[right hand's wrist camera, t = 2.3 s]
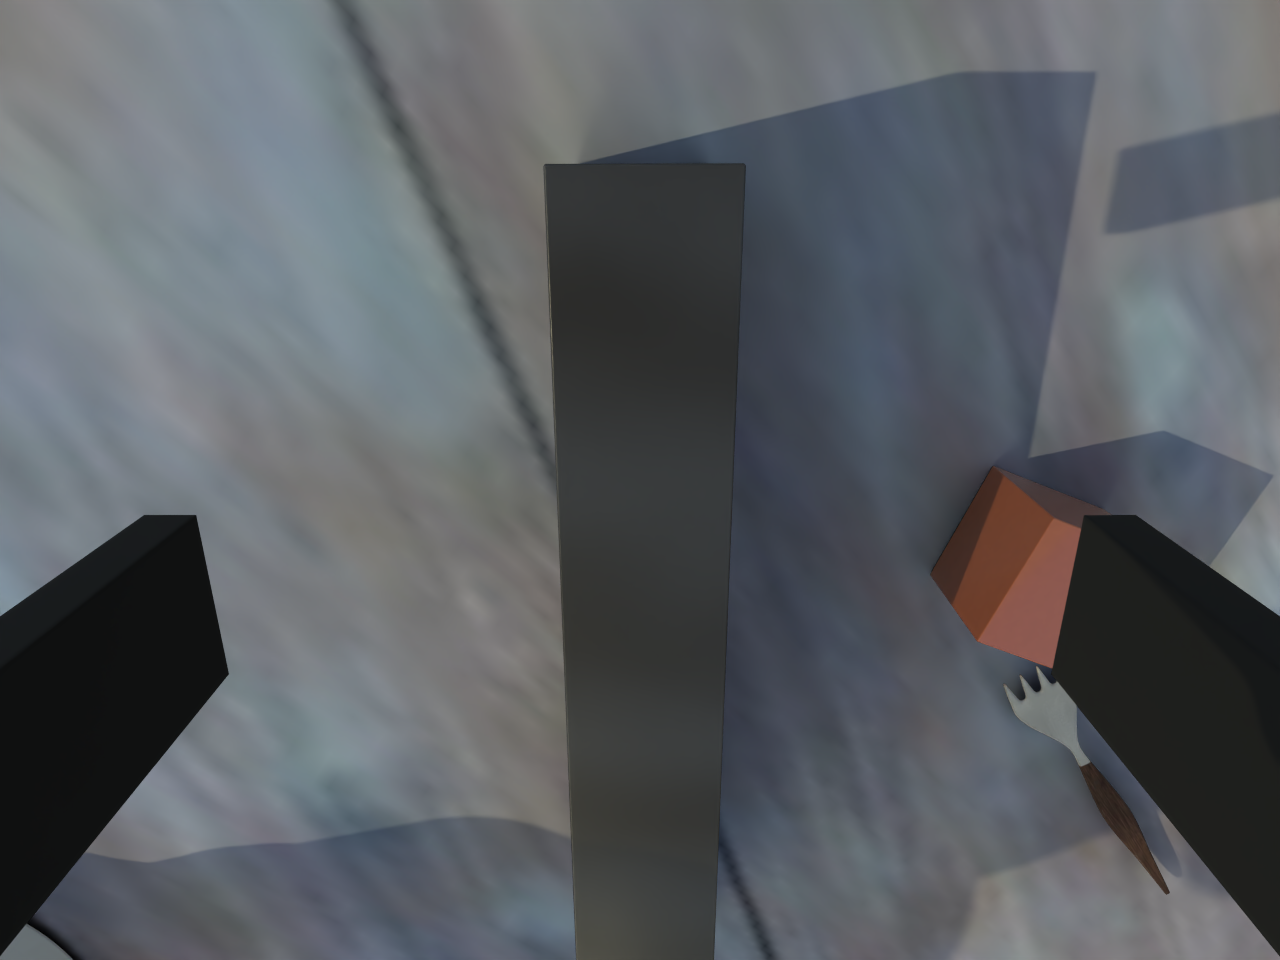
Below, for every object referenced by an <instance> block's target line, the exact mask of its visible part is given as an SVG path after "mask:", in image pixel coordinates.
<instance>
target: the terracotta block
mask: <svg viewBox="0 0 1280 960" xmlns="http://www.w3.org/2000/svg"><path fill="white" fill-rule="evenodd" d="M1084 515H1111V514H1110V513H1109V512H1107V511H1106V510H1104V509H1102V508H1099V507H1097V506H1094V505H1092V504H1089V503H1086V502H1084V501H1081V500H1079V499H1076V498H1074V497H1071V496H1069V495H1066V494H1064V493H1061V492H1058V491H1056V490H1053V489H1051V488H1048V487H1046V486H1043V485H1041V484H1038V483H1036V482H1033V481H1030V480H1028V479H1025V478H1023V477H1020V476H1018V475H1015V474H1013V473H1010V472H1008V471H1005V470H1002V469H1000V468H997V467H995V466H993V467H992V468H991V470H990V472H989V474H988V475H987V477H986V479H985V480H984V482H983V484H982V486H981V487H980V489H979V491H978V493H977V494H976V496H975V498H974V499H973V501H972V503H971V505H970V506H969V508H968V510H967V512H966V513H965V515H964V517H963V518H962V520H961V522H960V524H959V525H958V527H957V529H956V531H955V532H954V534H953V536H952V537H951V539H950V541H949V543H948V544H947V546H946V548H945V550H944V551H943V553H942V555H941V556H940V558H939V560H938V562H937V563H936V565H935V567H934V569H933V570H932V572H931V574H930V575H931V577H932V578H933V580H934V581H935V582H936V584H937V585H938V587H939V588H940V590H941V591H942V592H943V594H944V595H945V597H946V598H947V599H948V601H949V602H950V604H951V605H952V607H953V608H954V609H955V611H956V612H957V614H958V615H959V616H960V618H961V619H962V621H963V622H964V623H965V625H966V626H967V628H968V629H969V631H970V632H971V633H972V635H973V636H974V638H975V639H976V640H977V642H980V643H983V644H986V645H988V646H991V647H994V648H997V649H1000V650H1002V651H1005V652H1008V653H1011V654H1013V655H1016V656H1019V657H1022V658H1024V659H1027V660H1030V661H1033V662H1036V663H1038V664H1041V665H1044V666H1047V667H1049V668H1053V663H1054V658H1055V653H1056V648H1057V643H1058V638H1059V634H1060V629H1061V624H1062V619H1063V614H1064V609H1065V604H1066V600H1067V595H1068V590H1069V585H1070V580H1071V575H1072V571H1073V566H1074V561H1075V556H1076V551H1077V546H1078V541H1079V537H1080V532H1081V527H1082V522H1083V517H1084Z"/></svg>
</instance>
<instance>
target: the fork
mask: <svg viewBox="0 0 1280 960" xmlns="http://www.w3.org/2000/svg"><path fill="white" fill-rule="evenodd" d="M1036 669H1037V674H1038V677H1039V681H1040V684H1041V690H1040V691H1038V692H1035V691H1034V690H1033V689H1032V688H1031V687H1030V685H1029V684H1028V683H1027V681H1026V680H1025V679H1024V678H1023V677H1022V676H1021V675H1020V679H1021V683H1022V686H1023V689H1024V692H1025V695H1026V697H1025V699H1023V700H1019V699H1018V698H1017V697H1016V696H1015V695H1014V693H1013V692H1012V691H1011V690H1010V689H1009V688H1008V687H1007V685H1006V684H1003V686H1004V688H1005V691H1006V694H1007V697H1008V699H1009V701H1010V704H1011V706H1012V708H1013V711H1014V713H1015V715H1016V716H1017V717H1018V718H1019V719H1020V720H1021V721H1022V722H1023V723H1025V724H1026V725H1028V726H1029V727H1031V728H1033V729H1035V730H1037V731H1039V732H1041V733H1043V734H1045V735H1047V736H1049V737H1051V738H1053V739H1055V740H1057V741H1058V742H1060V743H1062V744H1063V745H1065V746H1066V747H1067V748H1069V749H1070V750H1071V752H1072V753H1073V755H1074V756H1075V758H1076V760H1077V762H1078V765H1079V767H1080V769H1081V771H1082V774H1083V776H1084V778H1085V780H1086V783H1087V785H1088V787H1089V789H1090V792H1091V794H1092V796H1093V798H1094V800H1095V802H1096V805H1097V807H1098V808H1099V810H1100V812H1101V814H1102V816H1103V817H1104V819H1105V820H1106V822H1107V823H1108V825H1109V826H1110V827H1111V829H1112V830H1113V831H1114V832H1115V834H1116V835H1117V836H1118V837H1119V838H1120V839H1121V841H1122V842H1123V843H1124V844H1125V845H1126V846H1127V847H1128V849H1129V850H1130V851H1131V852H1132V853H1133V854H1134V856H1135V857H1136V858H1137V859H1138V860H1139V862H1140V863H1141V864H1142V865H1143V866H1144V868H1145V869H1146V870H1147V871H1148V873H1149V874H1150V875H1151V876H1152V878H1153V879H1154V880H1155V881H1156V883H1157V884H1158V885H1159V886H1160V888H1161V889H1162V890H1163V891H1164V893H1165V894H1166V895H1167V894H1169V893H1170V892H1169V890H1168V887H1167V885H1166V883H1165V881H1164V879H1163V877H1162V875H1161V873H1160V871H1159V869H1158V867H1157V865H1156V863H1155V861H1154V859H1153V857H1152V854H1151V852H1150V850H1149V848H1148V846H1147V843H1146V841H1145V839H1144V837H1143V834H1142V832H1141V830H1140V828H1139V825H1138V823H1137V821H1136V819H1135V817H1134V816H1133V814H1132V812H1131V811H1130V809H1129V808H1128V806H1127V805H1126V803H1125V802H1124V801H1123V799H1122V798H1121V797H1120V796H1119V794H1118V793H1117V792H1116V791H1115V789H1114V788H1113V787H1112V786H1111V785H1110V783H1109V782H1108V781H1107V780H1106V779H1105V778H1104V776H1103V775H1102V774H1101V773H1100V772H1099V771H1098V769H1097V768H1096V767H1095V766H1094V765H1093V764H1092V762H1091V761H1090V760H1089V759H1088V758H1087V756H1086V755H1085V754H1084V752H1083V751H1082V749H1081V748H1080V745H1079V743H1078V738H1077V705H1076V704H1075V703H1074V702H1073V700H1072V699H1071V698H1070V697H1069V695H1068V694H1067V693H1066V692H1065V691H1064V689H1063V688H1062V687H1061V686H1060V684H1059V683H1058V682H1057V681H1056V682H1055V683H1053V684H1052V683H1050V682H1049V681H1048V680H1047V678H1046V677H1045V675H1044V674H1043V673H1042V671H1041V670H1040V669H1039V667H1038V666H1036Z"/></svg>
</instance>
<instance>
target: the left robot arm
mask: <svg viewBox="0 0 1280 960" xmlns="http://www.w3.org/2000/svg"><path fill="white" fill-rule="evenodd" d="M0 960H73V959H72V958H71V957H70V956H69V955H68V954H67V953H66V952H65V951H64V950H63V949H61V948H60V947H59V946H58V945H57V944H56V943H54V942H53V941H52V940H50V939H49V938H48V937H46V936H45V935H44V934H42V933H41V932H39V931H38V930H36V929H34V928H33V927H31V926H30V925H28V924H26V925H25V926H24V928H23V929H22V930H21V931H20V932H19V934H18V935H17V936H16V937H15V939H14V940H13V941H12V942H11V944H10V945H9V946H8V947H7V949H6V950H5V951H4V952H3V953H2V955H1V956H0Z"/></svg>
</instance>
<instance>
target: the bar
mask: <svg viewBox="0 0 1280 960" xmlns="http://www.w3.org/2000/svg"><path fill="white" fill-rule="evenodd" d="M745 171H746V165H745V164H743V163H733V164H545V165H544V191H545V215H546V239H547V264H548V288H549V312H550V337H551V361H552V385H553V409H554V434H555V458H556V482H557V506H558V531H559V555H560V579H561V604H562V628H563V652H564V676H565V701H566V725H567V749H568V773H569V798H570V822H571V846H572V870H573V895H574V919H575V943H576V960H714V943H715V918H716V894H717V869H718V844H719V819H720V794H721V769H722V744H723V719H724V694H725V669H726V644H727V620H728V595H729V570H730V545H731V520H732V495H733V470H734V445H735V420H736V395H737V371H738V346H739V321H740V296H741V271H742V246H743V221H744V196H745Z"/></svg>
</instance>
